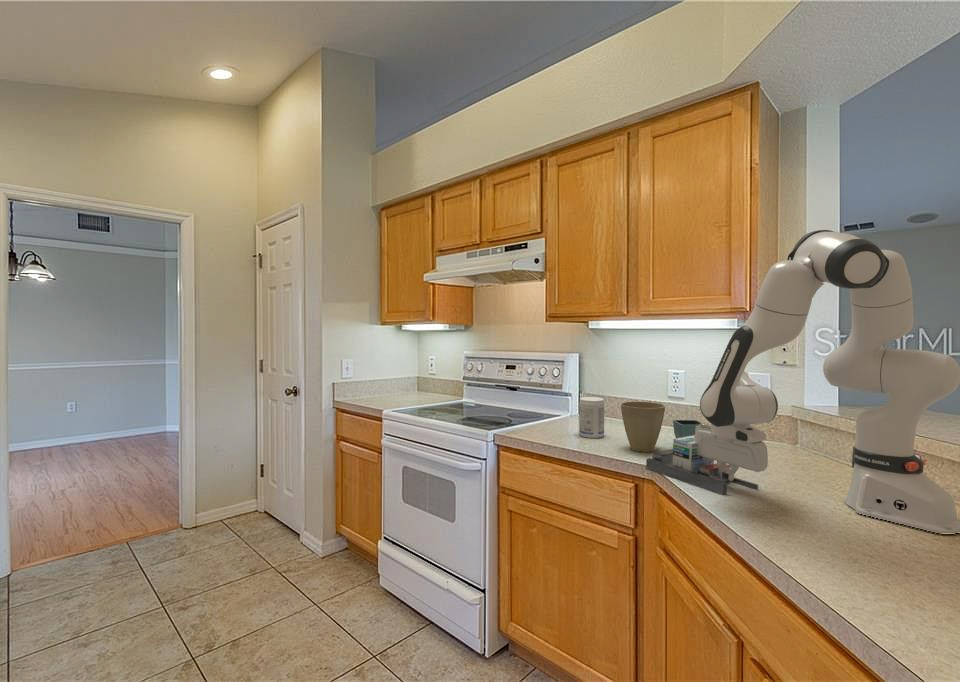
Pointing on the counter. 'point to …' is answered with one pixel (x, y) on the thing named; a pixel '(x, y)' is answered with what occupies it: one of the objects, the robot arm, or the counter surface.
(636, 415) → the plant pot
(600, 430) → the supplement tub
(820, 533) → the counter surface
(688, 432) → the flower pot
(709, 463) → the light bulb box
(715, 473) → the block
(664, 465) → the vise base
